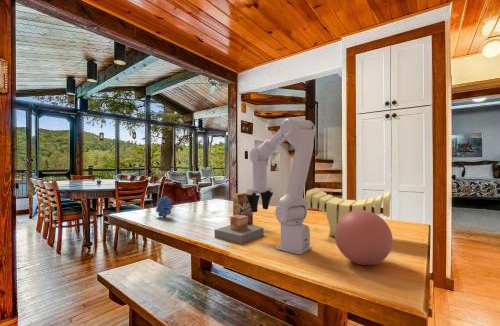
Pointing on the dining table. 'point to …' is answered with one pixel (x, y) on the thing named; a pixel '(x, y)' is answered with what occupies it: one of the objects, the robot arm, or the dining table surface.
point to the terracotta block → (239, 222)
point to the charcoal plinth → (239, 234)
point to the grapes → (164, 206)
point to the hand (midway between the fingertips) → (260, 210)
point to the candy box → (242, 206)
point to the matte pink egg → (363, 237)
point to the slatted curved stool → (345, 206)
